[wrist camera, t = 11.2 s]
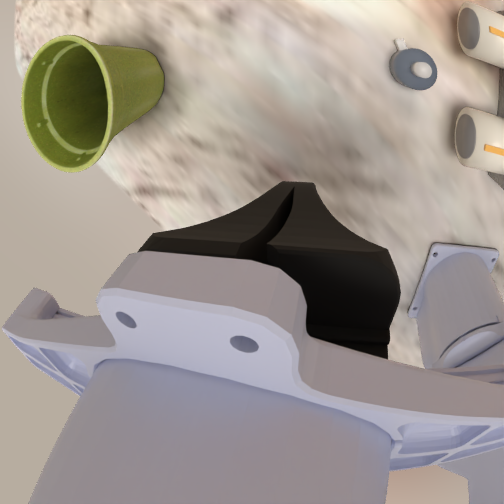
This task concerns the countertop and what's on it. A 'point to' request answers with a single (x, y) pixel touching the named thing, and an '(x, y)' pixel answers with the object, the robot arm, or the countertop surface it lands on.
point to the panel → (500, 179)
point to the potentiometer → (412, 67)
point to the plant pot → (85, 98)
